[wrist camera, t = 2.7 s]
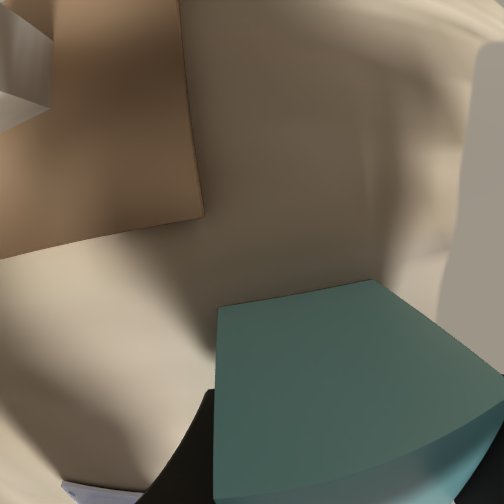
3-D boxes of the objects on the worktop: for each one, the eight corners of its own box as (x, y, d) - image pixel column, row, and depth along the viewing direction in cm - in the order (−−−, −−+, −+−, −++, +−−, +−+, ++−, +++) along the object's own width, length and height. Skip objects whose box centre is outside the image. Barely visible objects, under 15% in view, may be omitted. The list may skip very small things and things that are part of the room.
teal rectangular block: (368, 394, 11) (442, 513, 4) (243, 422, 10) (260, 570, 4) (373, 278, 9) (518, 388, 3) (218, 307, 9) (213, 499, 3)
